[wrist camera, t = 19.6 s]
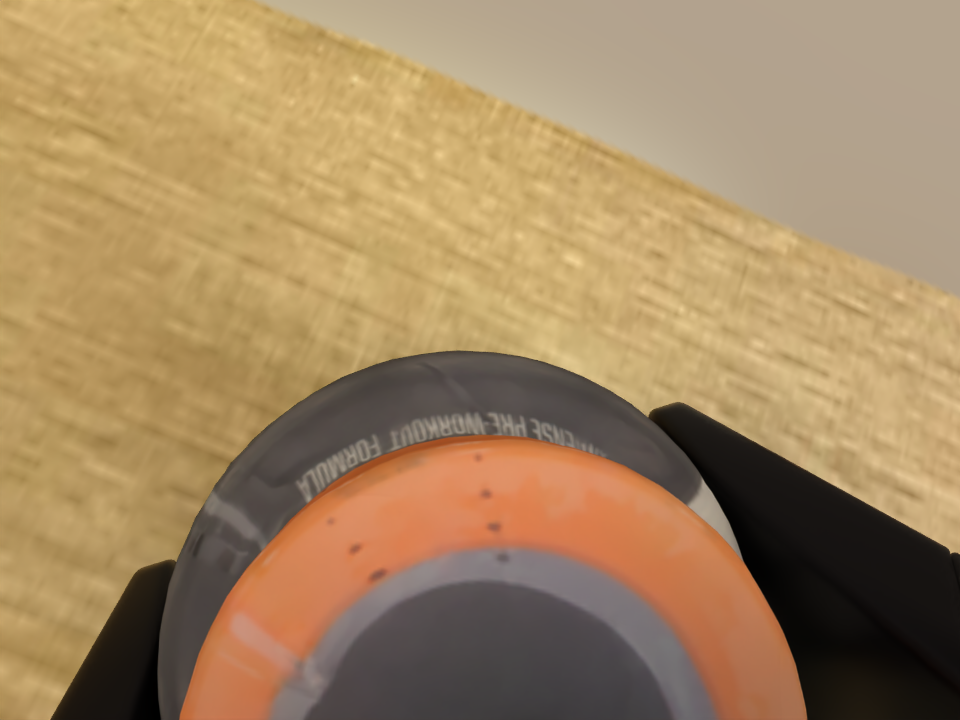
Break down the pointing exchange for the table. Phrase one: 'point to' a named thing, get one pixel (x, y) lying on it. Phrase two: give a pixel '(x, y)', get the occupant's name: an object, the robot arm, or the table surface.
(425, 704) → the pill bottle
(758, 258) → the table surface
